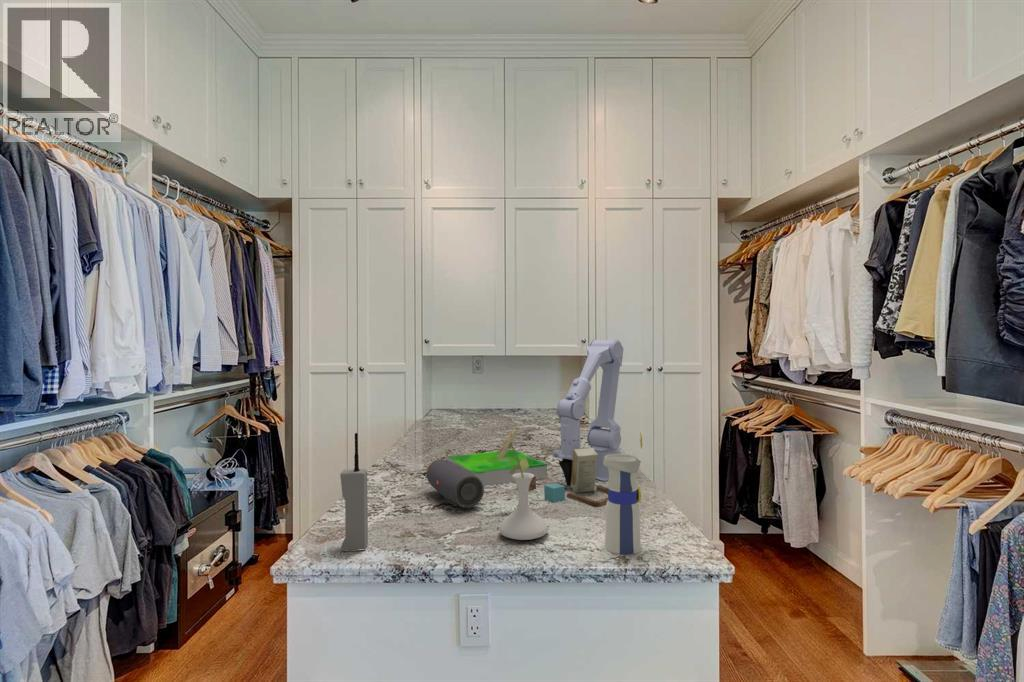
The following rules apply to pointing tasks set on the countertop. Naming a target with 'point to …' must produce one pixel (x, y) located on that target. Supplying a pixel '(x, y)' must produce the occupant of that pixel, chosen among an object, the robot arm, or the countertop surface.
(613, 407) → the robot arm
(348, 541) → the vintage mobile phone
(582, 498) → the frame
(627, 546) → the water bottle
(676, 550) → the countertop surface
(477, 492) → the bluetooth speaker
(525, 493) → the flower in vase
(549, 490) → the teal block
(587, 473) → the skincare box
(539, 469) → the tray
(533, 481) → the walnut block
